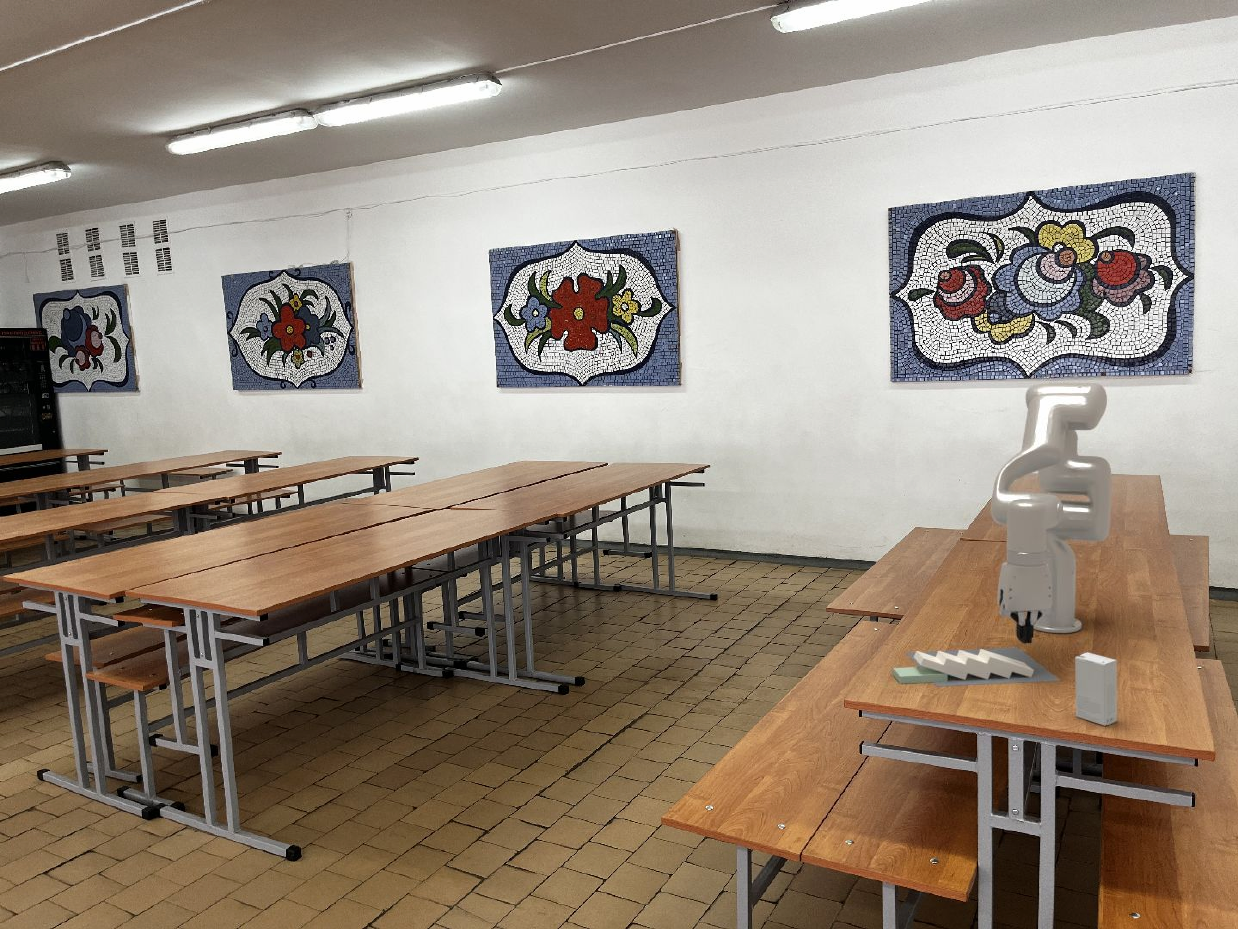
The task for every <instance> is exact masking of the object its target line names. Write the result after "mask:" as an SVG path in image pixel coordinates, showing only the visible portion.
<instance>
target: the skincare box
mask: <svg viewBox="0 0 1238 929" xmlns="http://www.w3.org/2000/svg"><path fill="white" fill-rule="evenodd" d="M1074 661H1075V662H1074V663H1075V664H1074V665H1075V666H1074V667H1075V669H1074V670H1075V671H1074V673H1075V716H1076V717H1077V718H1079V719H1083V720H1086V721H1089V722H1092V723H1094V724H1095V723H1096V724H1099V725H1101V726H1105V727H1106V725H1107V726H1110V725H1112V724H1113V723H1117V721H1118V660H1117V659H1114V658H1109V657H1107V656H1103V655H1098V654H1095V653H1091V652H1084V653H1082V654H1080V655H1077V656H1075V657H1074Z"/></svg>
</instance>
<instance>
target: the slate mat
mask: <svg viewBox="0 0 1238 929" xmlns="http://www.w3.org/2000/svg"><path fill="white" fill-rule="evenodd" d="M980 649H981V648H977V649H976V648H975V649H961V650H962V651H965V652H968V653H971V654H974V655H978V654H979V652H980ZM982 649H983V650H986V651H989V652H992V653H995V654H999V655H1002V656H1005V657H1008V658H1011V659H1014V660H1018V661H1021V662H1024V663H1025V664H1026V665H1028V666H1029V667H1030V668H1031V669H1033V670H1034V672H1033V674H1032V677H1028V676H1025V675H1022V674H1019V673H1015V672H1012V673H1011V675H1010V678H1006V677H1003V676H1000V675H997V674H994V673H991V672H990V675H989V678H988V679H985V678H981V677H978V676H975V675H972V674H969V673H968V674H967V676H966V679H965V680H964V679H961V678H958V677H955V676H952V675H949V674H947V682H932V683H933V684H934V685H935V686H936V688H937V687H939V688H941V687H961V686H978V685H980V686H981V685H999V684H1000V685H1002V684H1005V685H1006V684H1020V683H1021V684H1022V683H1023V684H1025V683H1044V682H1047V683H1048V682H1061V681H1062V680H1061V679H1059V678H1058V677H1057V676H1056V675H1054V674H1053V673H1052V672H1050V671H1049V670H1048V669H1046V668H1045V667H1044V666H1042V664H1040V663H1038V662H1037V661H1036V660H1035V659H1034V658H1032V657H1031V656H1030V655H1028V654H1027V653H1025V651H1023V650H1022V649H1021V648H1019V646H1018V647H998V648H997V647H995V648H982ZM959 650H960V649H955V650H954V649H953V650H940V651H941V652H945V653H948V654H951V655H954V656H957V654H958V652H959ZM938 651H939V650H933V651H931V650H930V651H921V652H922V653H925V654H928V655H931V656H934V657H936V655H937V653H938ZM915 653H916V651H912V652H911V651H910V652H905V654H906V655H907V656H908V657H909V658H910V659H911V660H912V662H913V663H914V664H915V665H916V667H925V666H922V665H920V664H919V663H918V662H917V660H916V659H915V658H914V655H915Z"/></svg>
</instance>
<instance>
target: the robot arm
mask: <svg viewBox="0 0 1238 929" xmlns="http://www.w3.org/2000/svg"><path fill="white" fill-rule="evenodd" d="M1025 405H1026V408H1027V415H1026V420H1025V427H1024V433H1023V438H1022V446H1021V450H1020V451H1019V452H1018V453H1016V454H1015V455H1013V456H1012V457H1011V458H1010V459H1009V460H1008V461H1007V462H1005V464H1004V465H1003V466H1002V467H1001V469H1000V470H999V472H998V473H997V475H996V477H995V480H994V484H993V491H992V496H991V500H990V501H991V503H990V516H991V518H992V520H993V521H994V522H995V524H998V525H1001V526H1006V561H1005V562H1002V564H1001V569H1000V572H999V577H998V585H997V605H998V606H999V611H998V614H999V615H1000V616H1001V617H1004V618H1005V617H1006V618H1011V619H1012V620H1013V621H1014V622H1015V623H1016V629H1015V630H1016V631H1015V633H1016V634H1015V635H1016V639H1018V641H1019V642H1021V643H1022V644H1023V645H1024V644H1025V645H1026V644H1032V643H1033V641H1032V640H1033V639H1034V632H1035V631H1034V630H1036V631H1038V632H1039V631H1040V632H1045V633H1053V634H1070V633H1074V632H1078V631H1079V630H1081V629H1082V622H1081V621H1080V620H1079V619H1078V618H1075V617H1076V614H1075V612H1076V574H1077V571H1076V570H1077V566H1076V565H1077V559H1076V555H1075V553H1074V551H1073V549H1072V548H1071V546H1070V545H1069V544H1068V543H1067V541H1079V542H1080V541H1081V542H1082V541H1083V542H1096V543H1097V542H1103V541H1104V540H1106V539H1107V538H1108V536H1109V534H1110V530H1111V529H1110V528H1111V512H1112V509H1111V508H1112V468H1111V466H1110V463H1109V462H1108V460H1107V459H1105V458H1104V457H1101V456H1094V455H1079V454H1078V440H1079V438H1078V437H1079V436H1078V432H1077V431H1091V430H1094V429H1096V428H1097V426H1098V425H1099V423H1100V421H1101V420H1102V418H1103V416H1104V414H1105V412H1106V409H1107V405H1108V396H1107V391H1106V390H1105V387H1104V386H1103V385H1102V384H1099V383H1095V382H1094V383H1093V382H1086V383H1085V382H1083V383H1082V382H1081V383H1080V382H1078V383H1077V382H1074V383H1069V382H1067V383H1066V382H1060V383H1059V382H1054V383H1051V382H1050V383H1040V384H1034V385H1032V386H1030V387H1028V388H1027V390H1026V392H1025ZM1034 473H1037V480H1038V486H1039V488H1040V490H1041V491H1042V492H1045V493H1042V492H1026V491H1009V490H1010V489H1011V487H1012V486H1013V484H1014V483H1015V482H1016V481H1018V480H1019V479H1021V478H1023V477H1025V476H1027V475H1030V474H1034ZM1055 494H1056V495H1055ZM1057 495H1070V496H1085V497H1087V499H1089V500H1087V501H1085V500H1084V501H1082V500H1072V499H1071V500H1070V499H1060V498H1059V496H1057ZM1024 612H1025V613H1024Z"/></svg>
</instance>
